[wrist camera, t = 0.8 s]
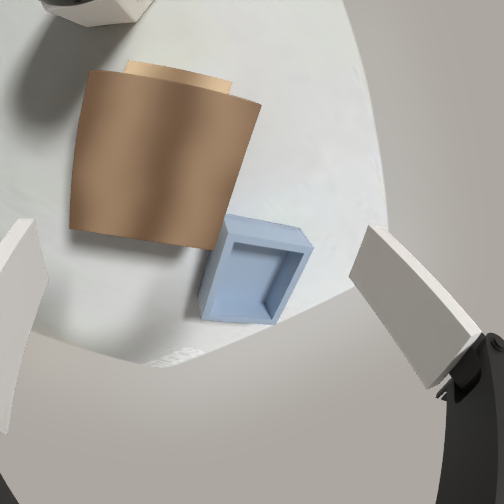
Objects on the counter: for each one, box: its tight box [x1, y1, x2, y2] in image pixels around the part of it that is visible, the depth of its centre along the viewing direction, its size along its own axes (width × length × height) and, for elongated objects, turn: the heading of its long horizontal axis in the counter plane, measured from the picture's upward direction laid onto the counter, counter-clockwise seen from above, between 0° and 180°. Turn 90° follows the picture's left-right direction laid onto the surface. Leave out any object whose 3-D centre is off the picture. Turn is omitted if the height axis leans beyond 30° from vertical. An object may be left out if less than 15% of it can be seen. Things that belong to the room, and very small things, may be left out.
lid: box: [69, 70, 262, 251], centre depth 21 cm, size 12×12×2 cm
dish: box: [198, 214, 314, 325], centre depth 33 cm, size 9×11×4 cm
